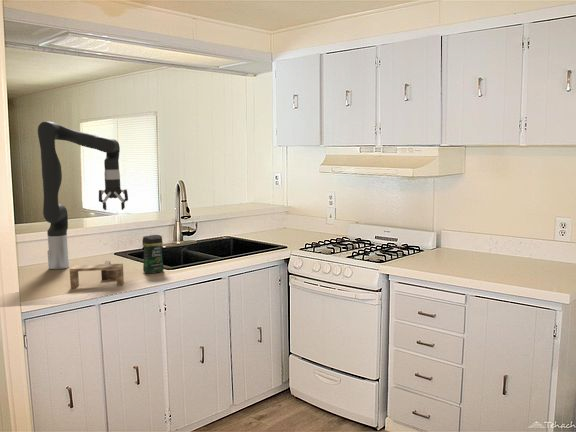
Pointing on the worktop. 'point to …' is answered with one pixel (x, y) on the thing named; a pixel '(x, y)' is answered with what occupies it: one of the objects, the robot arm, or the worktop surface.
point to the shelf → (74, 270)
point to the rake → (108, 273)
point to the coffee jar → (152, 254)
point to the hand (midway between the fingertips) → (114, 209)
